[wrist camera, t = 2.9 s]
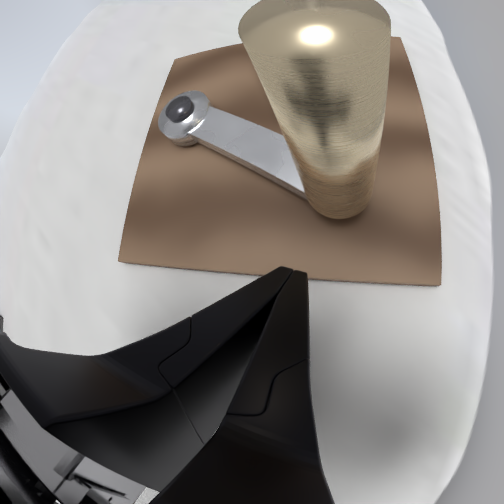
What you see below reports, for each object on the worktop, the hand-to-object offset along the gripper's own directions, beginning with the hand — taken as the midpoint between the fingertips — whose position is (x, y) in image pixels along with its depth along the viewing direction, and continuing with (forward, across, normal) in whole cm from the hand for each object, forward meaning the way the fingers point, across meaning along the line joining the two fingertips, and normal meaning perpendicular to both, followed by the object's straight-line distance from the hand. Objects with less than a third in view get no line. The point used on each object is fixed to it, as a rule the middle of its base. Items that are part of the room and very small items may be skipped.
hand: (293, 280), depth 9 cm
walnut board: (+12, +6, -2) cm, 14 cm away
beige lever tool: (+10, +6, -1) cm, 11 cm away
